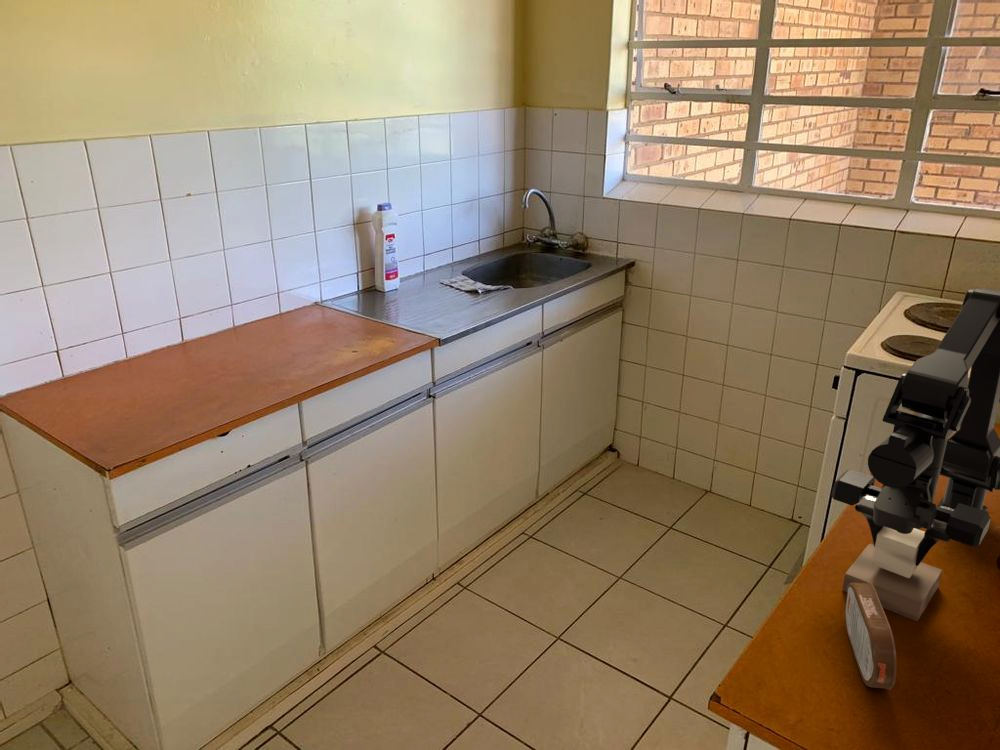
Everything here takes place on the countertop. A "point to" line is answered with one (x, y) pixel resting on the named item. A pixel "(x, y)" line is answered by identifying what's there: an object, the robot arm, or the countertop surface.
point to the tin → (870, 636)
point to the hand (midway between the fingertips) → (897, 557)
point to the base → (896, 584)
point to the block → (897, 550)
